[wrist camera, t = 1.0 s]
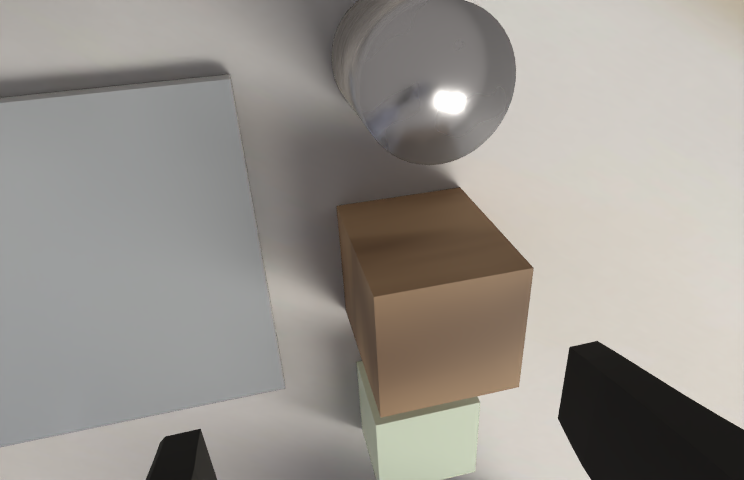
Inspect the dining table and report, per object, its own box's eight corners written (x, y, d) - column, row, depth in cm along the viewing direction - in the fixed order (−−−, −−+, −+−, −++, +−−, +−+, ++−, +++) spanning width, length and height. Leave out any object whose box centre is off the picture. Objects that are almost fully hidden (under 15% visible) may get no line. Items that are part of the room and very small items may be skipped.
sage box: (445, 407, 25) (475, 471, 22) (361, 426, 25) (380, 494, 22) (447, 342, 23) (480, 402, 20) (356, 360, 23) (375, 425, 20)
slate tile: (283, 377, 22) (285, 388, 21) (-48, 444, 20) (-55, 458, 19) (230, 74, 16) (230, 79, 15) (-257, 124, 14) (-276, 131, 13)
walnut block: (455, 289, 22) (518, 387, 17) (345, 309, 21) (380, 417, 16) (459, 187, 20) (533, 268, 15) (336, 205, 19) (373, 296, 14)
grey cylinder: (455, 113, 18) (508, 154, 15) (336, 127, 17) (364, 174, 14) (459, -20, 16) (523, -8, 13) (325, -10, 15) (354, 4, 12)
